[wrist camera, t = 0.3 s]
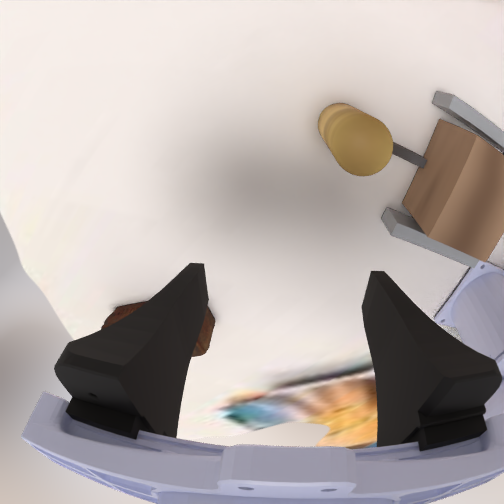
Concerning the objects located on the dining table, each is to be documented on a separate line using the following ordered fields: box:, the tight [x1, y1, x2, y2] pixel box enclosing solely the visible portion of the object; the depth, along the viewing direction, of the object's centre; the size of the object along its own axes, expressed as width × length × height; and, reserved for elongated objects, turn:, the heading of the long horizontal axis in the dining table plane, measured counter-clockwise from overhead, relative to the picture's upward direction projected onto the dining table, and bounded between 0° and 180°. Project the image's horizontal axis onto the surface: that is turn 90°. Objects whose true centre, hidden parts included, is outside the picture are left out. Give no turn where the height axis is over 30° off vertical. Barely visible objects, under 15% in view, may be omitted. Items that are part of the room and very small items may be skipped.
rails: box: [381, 91, 504, 268], centre depth 18 cm, size 9×10×2 cm
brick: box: [101, 301, 215, 357], centre depth 27 cm, size 11×4×5 cm, turn 109°
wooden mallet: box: [318, 103, 504, 262], centre depth 16 cm, size 14×7×6 cm, turn 74°
